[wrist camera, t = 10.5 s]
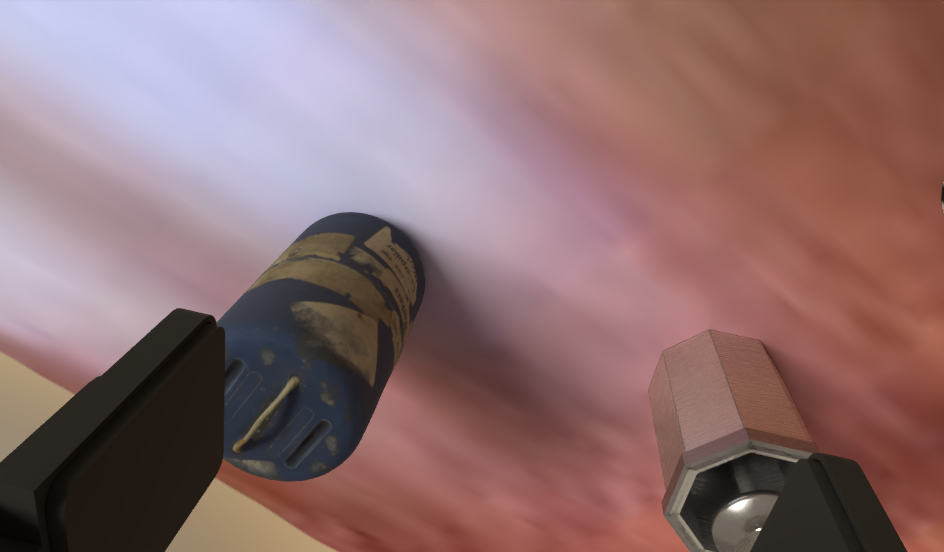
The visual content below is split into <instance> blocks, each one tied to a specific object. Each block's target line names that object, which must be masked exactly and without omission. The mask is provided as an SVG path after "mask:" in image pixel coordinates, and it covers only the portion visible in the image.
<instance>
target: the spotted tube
mask: <svg viewBox="0 0 944 552" xmlns="http://www.w3.org/2000/svg"><path fill="white" fill-rule="evenodd" d="M941 201H942V207H943V212H944V183H943V186H942V199H941Z"/></svg>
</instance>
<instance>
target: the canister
mask: <svg viewBox="0 0 944 552" xmlns="http://www.w3.org/2000/svg"><path fill="white" fill-rule="evenodd" d="M424 287H425V278H424V271H423V267H422V263H421V260H420V258H419V256H418V253H417V251H416V250H415V248H414V247H413V245H412V244H411V242H410V241H409V240H408V239H407V237H406V236H405V235H404V234H403V233H402V232H400V231H399V230H398V229H397V228H395V227H394V226H393V225H391V224H389V223H388V222H386V221H384V220H382V219H380V218H377V217H374V216H371V215H368V214H363V213H353V212H347V213H337V214H334V215H330V216H327V217H325V218H322V219H320V220H318V221H317V222H315V223H314V224H312V225H311V226H310V227H308V228H307V229H306V230H305V231H304V232H303V233H302V234H301V235H300V236H299V237H298V238H297V239H296V240H295V241H294V242H293V243H292V244H291V245H290V246H289V248H288V249H286V250H285V251H284V252H283V253H282V254H281V256H280V257H279V258H278V259H277V260H276V261H275V262H274V263H273V264H272V265H271V266H270V267H269V268H268V269H267V270H266V271H265V272H264V273H263V274H262V275H261V276H260V277H259V278H258V280H257V281H256V282H255V283H254V284H253V285H252V286H251V287H250V288H249V289H248V290H247V291H246V292H245V293H244V294H243V295H242V296H241V298H240V299H239V300H238V301H237V302H236V303H235V304H234V305H233V306H232V307H231V308H230V309H229V310H228V311H227V312H226V313H225V314H224V315H223V316H222V318H221V319H220V320H219V321H218V322H217V323H216V325H217V326H220V327H223V328H224V330H225V397H224V454H223V459H224V460H225V461H227V462H229V463H230V464H232V465H233V466H235V467H237V468H239V469H241V470H243V471H245V472H247V473H250V474H252V475H255V476H258V477H262V478H266V479H270V480H277V481H304V480H309V479H313V478H316V477H319V476H322V475H324V474H326V473H328V472H330V471H331V470H333V469H335V468H336V467H338V466H339V465H341V464H342V463H343V462H344V461H345V460H346V459H347V458H349V456H350V455H351V454H352V453H353V452H354V450H355V449H356V447H357V446H358V444H359V442H360V440H361V438H362V436H363V434H364V432H365V430H366V428H367V426H368V424H369V422H370V419H371V417H372V415H373V413H374V411H375V408H376V406H377V404H378V401H379V399H380V397H381V394H382V392H383V390H384V388H385V386H386V383H387V381H388V379H389V377H390V375H391V373H392V371H393V369H394V366H395V365H396V363H397V362H398V360H399V358H400V354H401V351H402V349H403V346H404V344H405V341H406V339H407V337H408V334H409V332H410V329H411V326H412V324H413V321H414V319H415V317H416V315H417V312H418V310H419V307H420V305H421V302H422V299H423V294H424Z"/></svg>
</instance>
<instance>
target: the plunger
mask: <svg viewBox="0 0 944 552" xmlns="http://www.w3.org/2000/svg"><path fill="white" fill-rule="evenodd" d="M730 461H731V464H732V468H733V471H734V474H735V477H736V481H737V484H738V487H739V490H740V494H737V495H735V496H733V497H731V498H729V499H728V500H726V501H725V502H724V503H722V504H721V505H720V506H719V507H718V509H717V510H716V511H715V513H714V515H713V518H712V521H711V531H712V536H713V540H714V543H715V546H716V547H717V549H718V550H719V552H750V551H751V549H752V547H753V545H754V543H755V541H756V539H757V537H758V535H759V533H760V531H761V529H762V527H763V525H764V523H765V521H766V520H767V518H768V516H769V514H770V512H771V510H772V508H773V506H774V504H775V502H776V500H777V498H778V496H779V494H780V492H777V491H772V490H756V487H755V484H754V481H753V478H752V475H751V472H750V469H749V466H748V463H747V460H746V457H745V455H743V456H740V457H738V458H735V459H733V460H730Z"/></svg>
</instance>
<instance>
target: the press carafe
mask: <svg viewBox="0 0 944 552" xmlns="http://www.w3.org/2000/svg"><path fill="white" fill-rule="evenodd" d="M648 392H649V398H650V403H651V409H652V415H653V421H654V426H655V432H656V438H657V444H658V450H659V455H660V461H661V467H662V473H663V478H664V484H665V490H666V493H665V495H664V497H663V500H662V508H663V514H664V516H665V518H666V519H667V520H668V522H669V523H670V525H671V526H672V527H673V529H674V530H675V531H676V533H677V534H678V536H679V537H680V538H681V540H682V541H683V543H684V544H685V545H686V547H687V548H688V549H689V551H690V552H719V550H718V549H717V547H716V546H715V543H714V540H713V536H712V531H711V521H712V518H713V515H714V513H715V511H716V510H717V509H718V507H719V506H720V505H721V504H722V503H724V502H725V501H726V500H728V499H729V498H731V497H733V496H735V495H737V494H740V490H739V487H738V484H737V481H736V477H735V474H734V471H733V468H732V464H731V461H730V460H733V459H735V458H738V457H740V456H743V455H745V457H746V460H747V463H748V466H749V469H750V472H751V475H752V478H753V481H754V484H755V487H756V490H772V491H777V492H781V491H782V489H783V487H784V485H785V483H786V481H787V479H788V477H789V475H790V473H791V471H792V469H793V467H794V465H795V464H796V462H797V461H798V460H800V459H808V458H809V456H810V455H812V454H813V453H817V452H819V453H821V452H820V451H819V449H818V447H817V446H816V444H815V443H814V442H813V441H812V439H811V437H810V435H809V433H808V430H807V428H806V426H805V424H804V422H803V420H802V418H801V416H800V414H799V412H798V410H797V408H796V406H795V404H794V402H793V400H792V398H791V396H790V394H789V392H788V390H787V387H786V385H785V383H784V381H783V379H782V377H781V376H780V374H779V372H778V371H777V369H776V367H775V366H774V364H773V362H772V361H771V359H770V357H769V355H768V354H767V352H766V350H765V349H764V347H763V345H762V344H761V342H760V341H759V340H755V339H750V338H745V337H741V336H736V335H732V334H727V333H723V332H718V331H714V330H707V331H705V332H703V333H701V334H698V335H696V336H694V337H692V338H690V339H688V340H686V341H684V342H681V343H679V344H677V345H675V346H673V347H671V348H669V349H667V350H664V351H663V352H662V355H661V357H660V360H659V363H658V365H657V368H656V371H655V374H654V376H653V379H652V382H651V385H650V387H649V390H648Z"/></svg>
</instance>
